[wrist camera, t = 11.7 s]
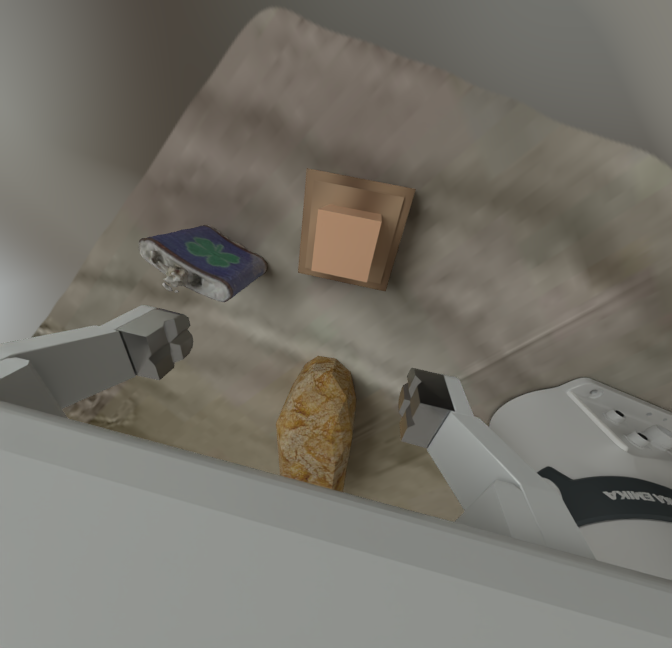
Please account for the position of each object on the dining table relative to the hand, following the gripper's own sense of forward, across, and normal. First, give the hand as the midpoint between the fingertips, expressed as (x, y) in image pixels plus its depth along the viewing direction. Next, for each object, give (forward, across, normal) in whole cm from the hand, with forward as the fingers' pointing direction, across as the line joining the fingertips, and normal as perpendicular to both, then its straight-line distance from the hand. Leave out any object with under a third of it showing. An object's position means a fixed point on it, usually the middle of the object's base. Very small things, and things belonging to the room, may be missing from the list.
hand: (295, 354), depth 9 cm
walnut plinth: (+21, 0, -1) cm, 21 cm away
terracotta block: (+19, 0, -1) cm, 19 cm away
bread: (+22, -1, +35) cm, 41 cm away
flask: (+21, +14, +4) cm, 26 cm away
